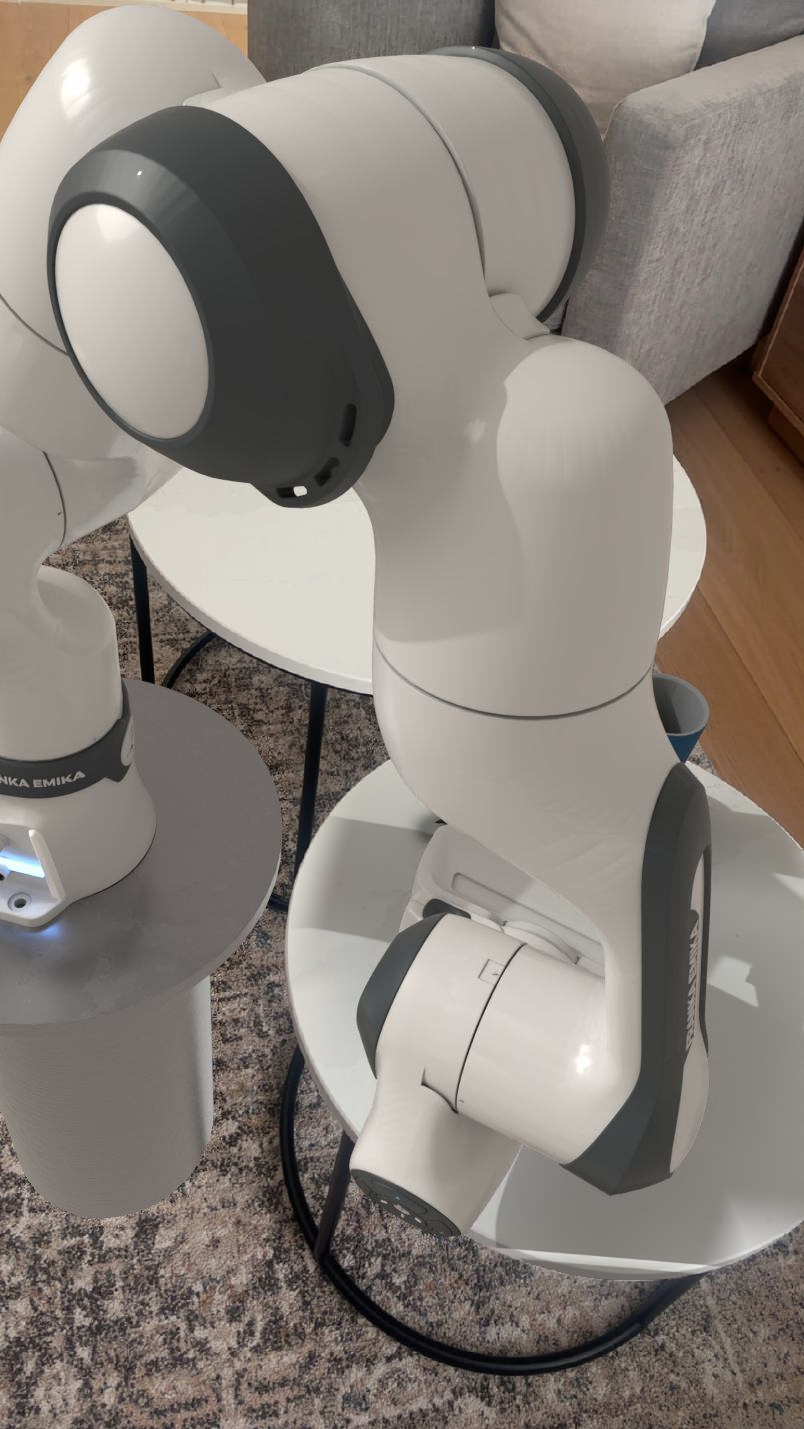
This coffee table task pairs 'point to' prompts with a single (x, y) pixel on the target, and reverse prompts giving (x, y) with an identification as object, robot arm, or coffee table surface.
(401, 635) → the robot arm
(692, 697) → the cup
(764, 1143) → the coffee table surface
